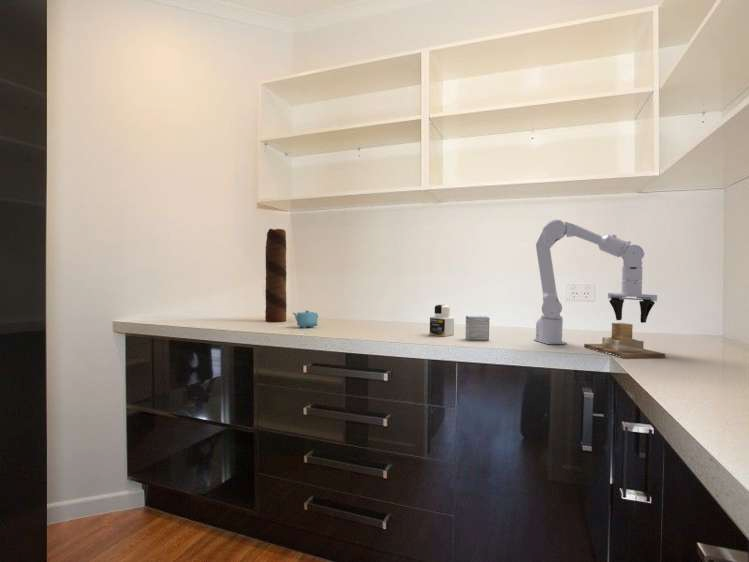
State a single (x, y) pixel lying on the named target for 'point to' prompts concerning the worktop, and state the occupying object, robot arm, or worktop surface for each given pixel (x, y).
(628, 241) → the robot arm
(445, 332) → the medicine bottle
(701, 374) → the worktop surface
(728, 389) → the worktop surface
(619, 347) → the walnut board
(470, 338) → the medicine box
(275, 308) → the wafer roll
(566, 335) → the worktop surface
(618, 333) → the oak peg
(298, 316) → the teapot
